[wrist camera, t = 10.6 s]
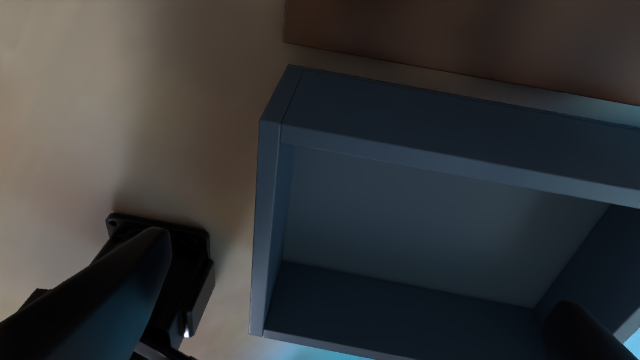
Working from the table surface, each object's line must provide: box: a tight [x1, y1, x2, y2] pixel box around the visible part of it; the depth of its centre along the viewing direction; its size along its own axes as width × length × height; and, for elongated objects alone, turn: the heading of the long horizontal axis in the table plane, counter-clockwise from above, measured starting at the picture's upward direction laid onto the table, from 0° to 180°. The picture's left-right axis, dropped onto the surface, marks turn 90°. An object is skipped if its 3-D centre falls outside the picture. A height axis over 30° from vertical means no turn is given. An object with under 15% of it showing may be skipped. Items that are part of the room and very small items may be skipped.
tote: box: [249, 64, 640, 360], centre depth 21 cm, size 18×14×5 cm
